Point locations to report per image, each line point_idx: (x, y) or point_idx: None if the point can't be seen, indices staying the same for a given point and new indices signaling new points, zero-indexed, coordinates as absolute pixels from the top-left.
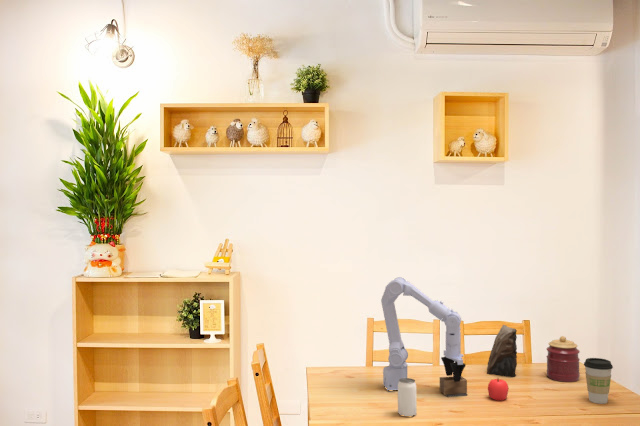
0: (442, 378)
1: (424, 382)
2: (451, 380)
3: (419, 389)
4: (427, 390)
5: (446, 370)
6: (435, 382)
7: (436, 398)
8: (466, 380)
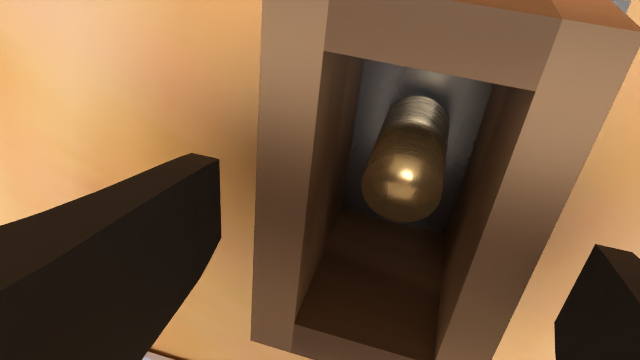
0: (315, 344)
1: (25, 180)
2: (471, 312)
3: (212, 316)
4: (251, 284)
5: (169, 315)
6: (17, 84)
7: (496, 352)
8: (636, 41)
